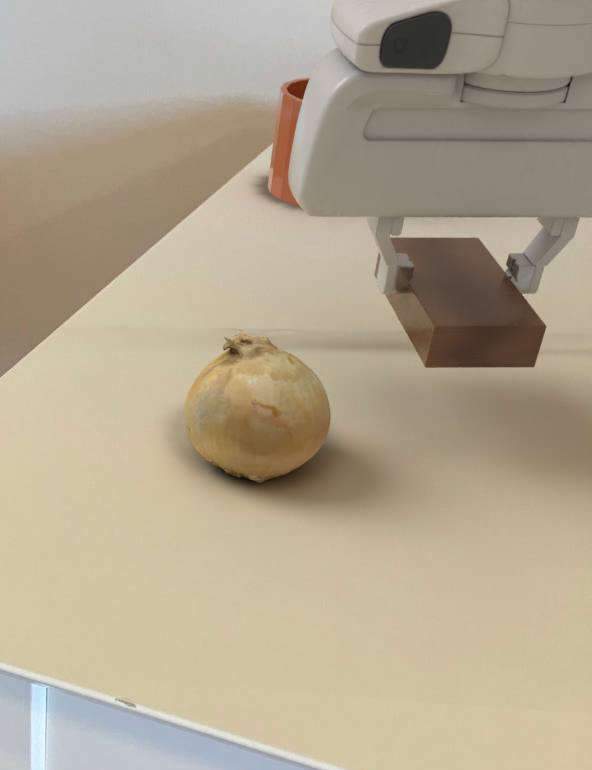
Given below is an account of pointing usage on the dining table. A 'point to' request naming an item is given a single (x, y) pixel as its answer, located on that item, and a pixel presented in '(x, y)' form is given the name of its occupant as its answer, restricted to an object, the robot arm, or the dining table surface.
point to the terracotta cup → (285, 138)
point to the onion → (257, 410)
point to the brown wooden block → (464, 307)
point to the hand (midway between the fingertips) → (454, 290)
